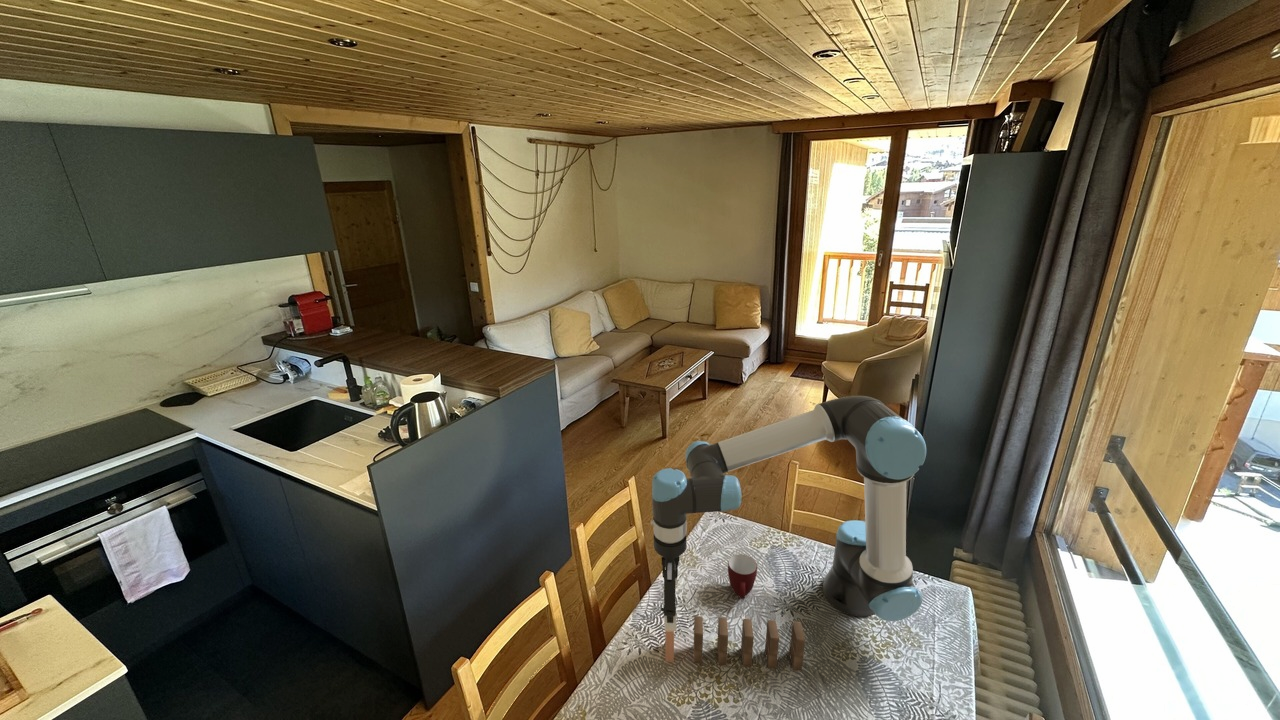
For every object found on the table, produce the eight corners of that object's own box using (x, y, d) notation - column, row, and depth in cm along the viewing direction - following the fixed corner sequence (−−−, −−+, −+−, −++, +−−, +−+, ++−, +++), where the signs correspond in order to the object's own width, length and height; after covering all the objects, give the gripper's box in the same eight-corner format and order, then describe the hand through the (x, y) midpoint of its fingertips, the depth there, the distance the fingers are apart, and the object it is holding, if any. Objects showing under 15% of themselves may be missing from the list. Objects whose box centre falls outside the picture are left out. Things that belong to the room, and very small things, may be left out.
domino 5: (773, 650, 124) (775, 620, 121) (776, 668, 120) (779, 638, 116) (764, 650, 124) (767, 620, 121) (767, 668, 120) (770, 637, 116)
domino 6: (797, 652, 124) (800, 621, 120) (801, 670, 119) (805, 639, 116) (788, 651, 124) (792, 621, 121) (792, 670, 119) (796, 639, 116)
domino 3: (725, 647, 125) (726, 617, 122) (726, 665, 121) (728, 635, 117) (716, 647, 126) (718, 617, 122) (718, 665, 121) (719, 634, 117)
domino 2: (701, 646, 126) (702, 616, 123) (702, 664, 121) (703, 633, 118) (693, 645, 126) (693, 615, 123) (693, 663, 121) (694, 633, 118)
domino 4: (748, 649, 125) (751, 619, 121) (751, 667, 120) (753, 636, 117) (740, 648, 125) (742, 618, 122) (742, 666, 120) (744, 636, 117)
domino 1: (673, 644, 127) (674, 614, 123) (673, 662, 122) (673, 632, 118) (665, 644, 127) (665, 614, 123) (665, 661, 122) (665, 631, 119)
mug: (759, 610, 136) (761, 581, 133) (729, 609, 136) (731, 581, 133) (752, 581, 146) (754, 554, 143) (725, 580, 146) (726, 553, 143)
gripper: (656, 499, 124) (658, 566, 131) (649, 573, 101) (652, 650, 108) (686, 500, 123) (686, 567, 130) (686, 575, 100) (687, 652, 107)
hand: (671, 605), depth 119 cm, fingers open, 13 cm apart
